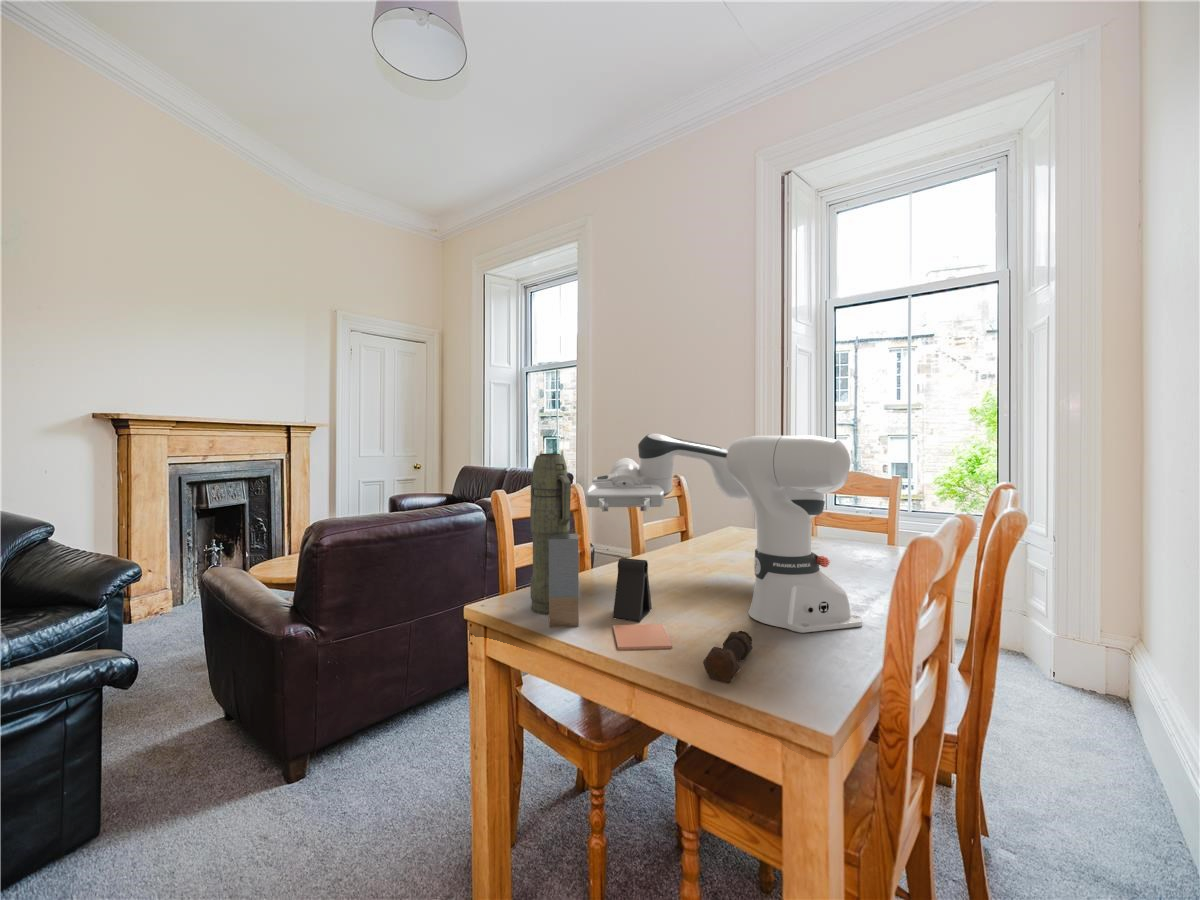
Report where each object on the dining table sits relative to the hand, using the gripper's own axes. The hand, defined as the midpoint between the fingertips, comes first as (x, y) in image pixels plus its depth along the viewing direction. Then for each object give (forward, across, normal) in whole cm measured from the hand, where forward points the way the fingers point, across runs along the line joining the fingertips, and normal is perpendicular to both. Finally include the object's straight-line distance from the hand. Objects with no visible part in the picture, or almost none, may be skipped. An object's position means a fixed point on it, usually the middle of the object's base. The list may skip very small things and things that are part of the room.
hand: (624, 508), depth 128 cm
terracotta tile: (+33, -3, -13) cm, 35 cm away
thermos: (+17, +17, -17) cm, 29 cm away
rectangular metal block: (+25, +13, -15) cm, 32 cm away
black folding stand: (+20, -2, -17) cm, 26 cm away
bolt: (+43, -19, -10) cm, 48 cm away
